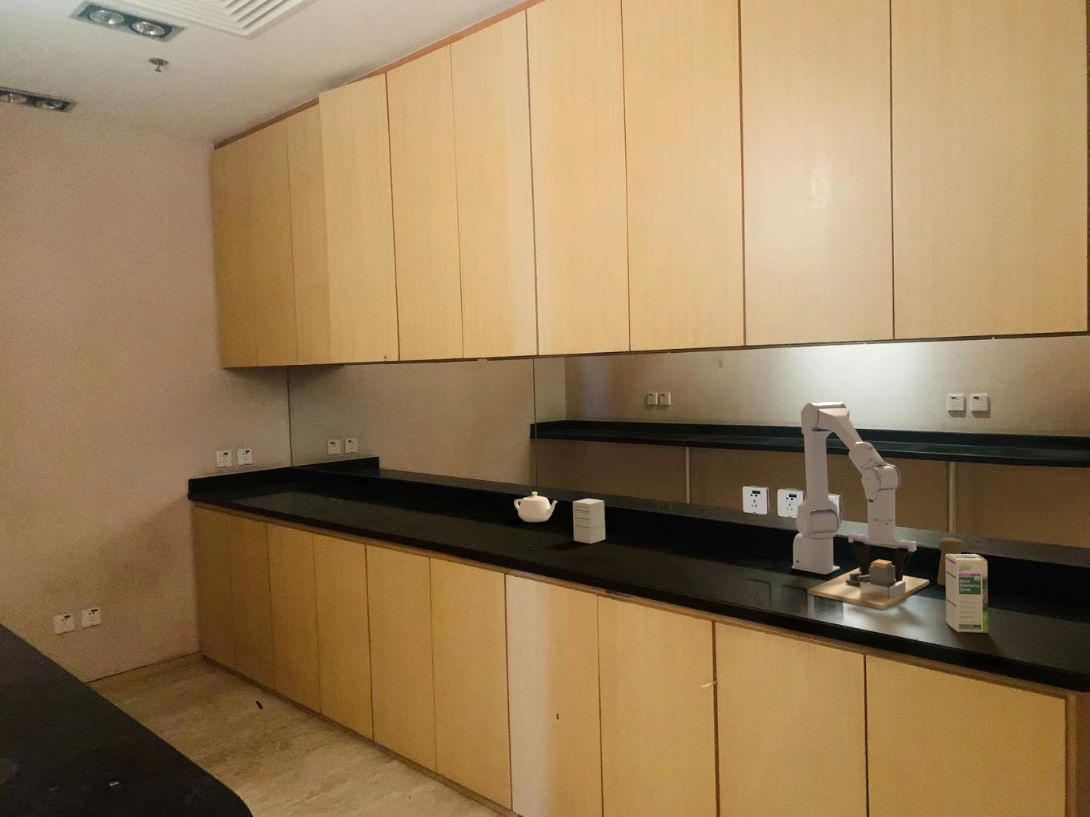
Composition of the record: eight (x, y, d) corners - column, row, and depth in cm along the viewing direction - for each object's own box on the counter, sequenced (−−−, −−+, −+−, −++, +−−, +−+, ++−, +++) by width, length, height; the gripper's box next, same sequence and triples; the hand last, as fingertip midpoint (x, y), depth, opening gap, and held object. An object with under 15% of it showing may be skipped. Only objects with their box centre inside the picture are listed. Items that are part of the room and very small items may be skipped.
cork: (939, 578, 180) (939, 534, 180) (967, 582, 176) (967, 537, 176) (934, 584, 175) (934, 539, 175) (962, 588, 172) (962, 542, 171)
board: (808, 593, 171) (808, 589, 171) (859, 571, 188) (859, 567, 188) (882, 609, 158) (882, 605, 158) (929, 584, 176) (929, 580, 176)
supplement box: (588, 536, 238) (587, 498, 237) (605, 539, 232) (605, 500, 232) (573, 540, 232) (572, 501, 232) (590, 544, 227) (589, 503, 226)
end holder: (860, 593, 167) (860, 582, 167) (874, 586, 172) (874, 575, 172) (891, 599, 162) (891, 588, 162) (905, 592, 167) (905, 581, 167)
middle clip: (860, 585, 173) (860, 577, 173) (849, 581, 176) (849, 573, 176) (872, 583, 174) (872, 575, 174) (861, 580, 177) (861, 571, 177)
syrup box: (956, 632, 144) (956, 559, 143) (945, 622, 149) (945, 552, 149) (988, 633, 143) (988, 560, 142) (975, 623, 148) (975, 552, 148)
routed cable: (844, 583, 174) (844, 579, 174) (859, 576, 180) (859, 572, 180) (877, 590, 169) (877, 586, 169) (892, 582, 174) (892, 578, 174)
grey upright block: (861, 590, 169) (861, 560, 169) (869, 586, 172) (869, 557, 171) (887, 595, 165) (887, 564, 164) (895, 591, 167) (894, 561, 167)
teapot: (568, 519, 267) (567, 492, 266) (547, 525, 257) (546, 497, 256) (525, 514, 279) (525, 488, 278) (504, 520, 269) (503, 492, 269)
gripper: (842, 517, 169) (842, 575, 170) (907, 525, 158) (907, 587, 159) (856, 512, 174) (856, 569, 174) (920, 520, 163) (920, 580, 164)
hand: (881, 577), depth 167 cm, fingers open, 7 cm apart
